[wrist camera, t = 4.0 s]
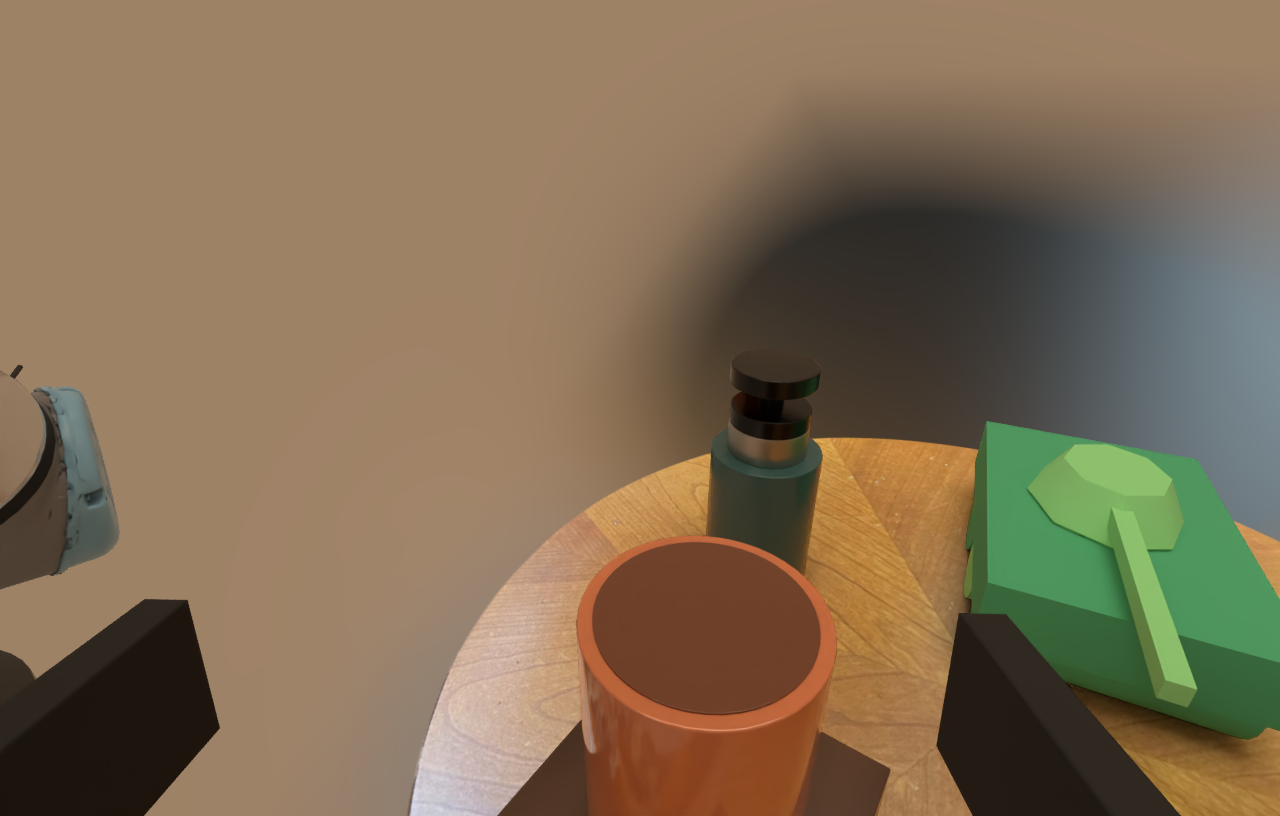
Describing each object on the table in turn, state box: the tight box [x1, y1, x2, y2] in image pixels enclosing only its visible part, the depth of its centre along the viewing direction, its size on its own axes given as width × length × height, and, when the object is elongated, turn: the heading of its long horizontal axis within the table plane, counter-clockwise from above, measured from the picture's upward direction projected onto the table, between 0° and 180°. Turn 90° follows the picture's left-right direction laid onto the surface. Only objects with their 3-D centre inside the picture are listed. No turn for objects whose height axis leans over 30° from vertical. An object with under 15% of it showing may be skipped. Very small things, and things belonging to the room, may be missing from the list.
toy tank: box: [964, 421, 1280, 740], centre depth 49 cm, size 18×12×35 cm
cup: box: [576, 536, 837, 816], centre depth 22 cm, size 8×8×10 cm
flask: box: [706, 349, 822, 576], centre depth 52 cm, size 9×9×20 cm
